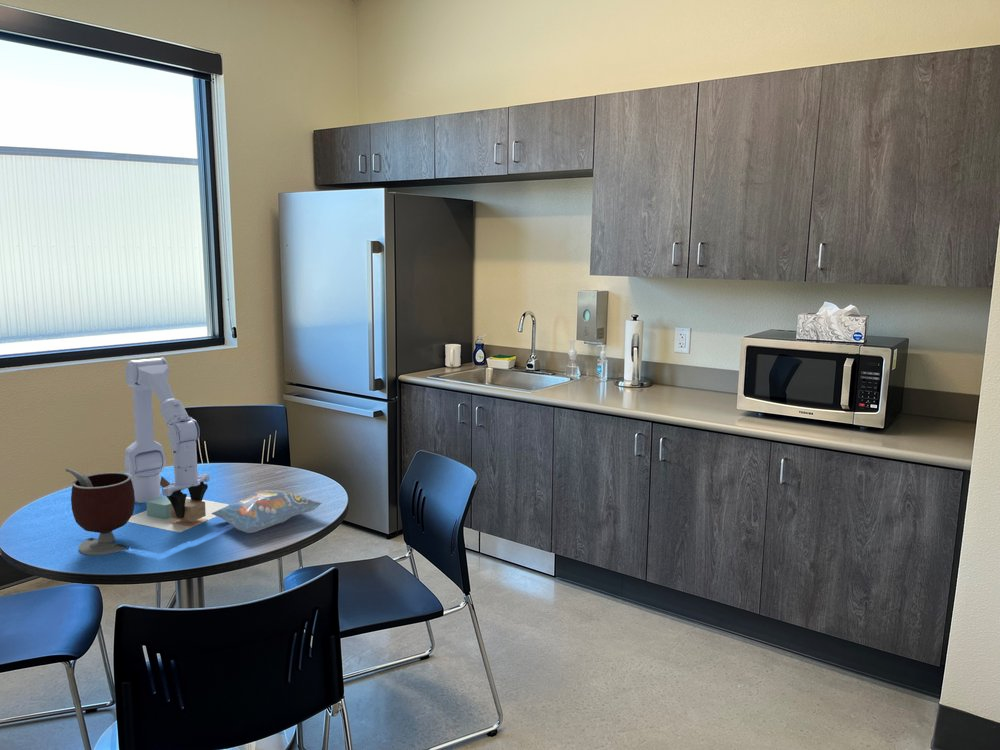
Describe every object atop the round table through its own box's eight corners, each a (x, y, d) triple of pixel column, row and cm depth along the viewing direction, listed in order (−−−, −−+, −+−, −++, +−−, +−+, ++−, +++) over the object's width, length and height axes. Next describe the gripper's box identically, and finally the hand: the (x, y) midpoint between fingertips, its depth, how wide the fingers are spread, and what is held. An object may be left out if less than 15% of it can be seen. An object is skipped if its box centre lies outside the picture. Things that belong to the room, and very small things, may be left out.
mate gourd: (147, 534, 190) (142, 461, 187) (121, 556, 177) (115, 477, 174) (87, 534, 190) (81, 460, 187) (56, 556, 176) (49, 476, 173)
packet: (322, 519, 204) (321, 490, 202) (244, 543, 186) (242, 511, 185) (288, 505, 215) (287, 477, 214) (211, 526, 197) (209, 496, 196)
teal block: (147, 515, 201) (146, 501, 200) (161, 509, 205) (160, 496, 205) (166, 519, 198) (165, 505, 198) (180, 513, 203) (179, 499, 202)
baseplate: (121, 524, 197) (120, 519, 197) (184, 500, 217) (183, 495, 217) (179, 536, 190) (179, 532, 189) (239, 510, 210) (239, 506, 209)
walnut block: (171, 517, 196) (170, 503, 195) (186, 512, 201) (185, 498, 200) (191, 521, 193) (190, 507, 193) (205, 515, 198) (205, 501, 197)
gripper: (175, 474, 187) (178, 524, 189) (217, 460, 200) (219, 507, 202) (155, 470, 189) (158, 520, 191) (197, 457, 202) (199, 503, 205)
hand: (188, 513), depth 197 cm, fingers closed on walnut block, 5 cm apart
